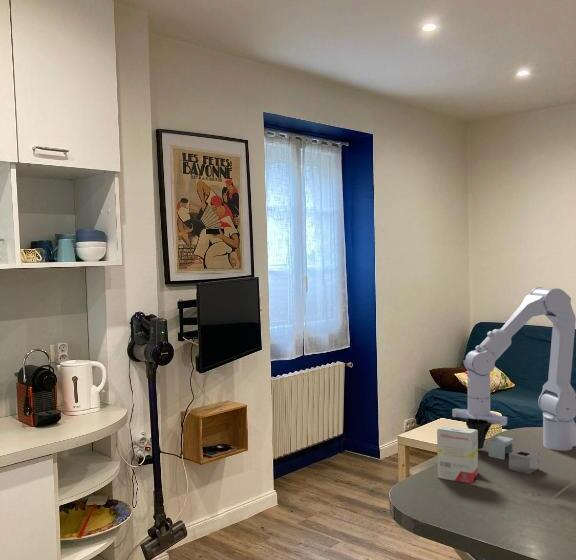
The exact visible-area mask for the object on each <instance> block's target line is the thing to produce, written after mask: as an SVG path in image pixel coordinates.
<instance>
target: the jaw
mask: <svg viewBox="0 0 576 560" xmlns="http://www.w3.org/2000/svg"><path fill="white" fill-rule="evenodd" d="M508 470H509V471H514V472H518V473H522V474H526V475H531V474H533V473H534V472H535V471H537V470H539V453H538V452H532V451H527V450H522V449H514V452H512V453H510V454H508Z"/></svg>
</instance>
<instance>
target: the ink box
mask: <svg viewBox="0 0 576 560" xmlns="http://www.w3.org/2000/svg"><path fill="white" fill-rule="evenodd" d="M436 437H437V438H436V441H437V442H436V443H437V444H436V445H437V448H436V449H437V454H436V455H437V478H438V479H442V480H448V481H449V480H450V481H453V482H460V483H464V484H465V483H466V484H472V485H473V484H475V482H476V481H477V480H478V479H477V478H475V477H477V476H478V474H479V451H478V450H479V449H478V430H475V429H468V427H459V426H452V425H446V424H445V425H442V426H440V427H438V428H437V429H436Z"/></svg>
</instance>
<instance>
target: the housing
mask: <svg viewBox="0 0 576 560" xmlns="http://www.w3.org/2000/svg"><path fill="white" fill-rule="evenodd" d="M514 443H515V439H514V438H511V437H507V436H501V435H498V436H496V437H493V438H492V439H490V440H488V457H490V458H494V459H499V460H506V454H508V455H509V454H510V453H512V452H514V451H515V444H514Z"/></svg>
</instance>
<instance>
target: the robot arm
mask: <svg viewBox="0 0 576 560" xmlns="http://www.w3.org/2000/svg"><path fill="white" fill-rule="evenodd" d="M571 301H572V298H571V296H570V295H569V294H568V293H566V292H565V291H564V289H562V288H561V289H560V288H556V287H555V288H546V287H539V286H538V287H535V288H533V289H531V291H530V292H529V294H527V295H526V296H524V298H523V300H522V302H521V304H520V305H519V306H518V307H517V309H516V310H515V311H514V312H513V313H512V314H511V316H510V317H509V318H508V319H507V321H506V322H505V323H504V324H503V325H502V327H501V328H499V329H498V328H497V329H496V328H495V329H493V330H489V331H487V333H486V335H487V336H486V337H485V339H483V341H482V342H481V343H480V344H479V345H476V346H475V348H474V350H471V351H469V352H468V353H467V354H466V356H465V359H464V360H462V361H463V366H464V367H465V369H466V371H467V409H464V408H452V410H451V411H452V412H451V413H452V415H451V416H452V417H453V418H462V419H467V421H465V425H466V428H467V429H475V430H478V450H481V449H483V448H484V444H485V440H486V436H487V434H488V432H489V431H490V428H491V426H492V425H493V424H497V425H500V426H502V427H504V426H507V425H508V416H503V415H500V414H496V413H492V412H491V372H493V371H494V369H495V366H496V365H495V363H496V361H497V360H498V359H499V358H500V357H501V356H502V354H504V352H506V350H507V349H508V348H509V347H510V346H511V345H512V338H513V336H514V335H516V333H518V332H519V330H520V329H521V328H522V327H524V325H526V324H527V323H528V322H529V321H531V319H532V318H533V317H538V316H543V315H544V316H545V317H546V318H547V319H548V320H549V321H550V322H552V331H551V344H550V357H549V363H548V364H549V366H548V376H547V377H548V379H547V381H546V382H545V383H544V384H543V385H542V391H541V393H540V395H539V396H538V399H537V403H538V404H537V405H538V406H539V408H540V410H541V411H542V421H543V422H542V427H543V429H542V432H543V433H542V442H543V443H542V446H543V447H544V448H546V449H548V450H553V451H558V452H559V451H563V452H565V451H571V450H573V448H574V447H576V422H575V420H574V418H575V417H576V391H575V389H574V387H573V386H572V384H571V378H572V368H573V358H574V357H573V354H574V346H575V345H574V343H575V333H576V331H575V330H576V314H575V312H574V309H573V307H572V304H571Z"/></svg>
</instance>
